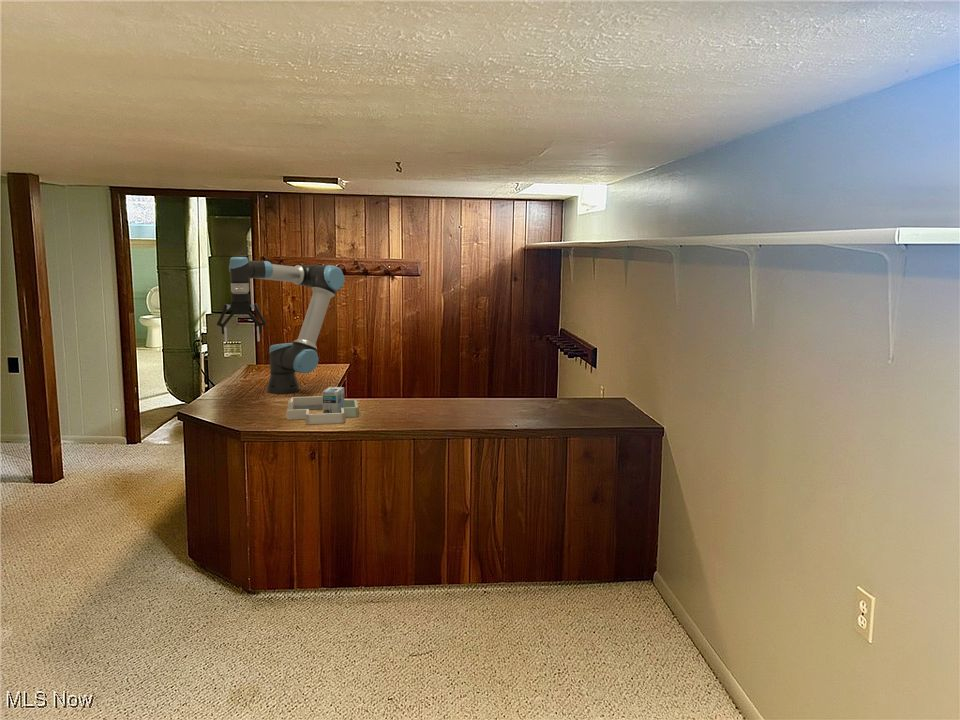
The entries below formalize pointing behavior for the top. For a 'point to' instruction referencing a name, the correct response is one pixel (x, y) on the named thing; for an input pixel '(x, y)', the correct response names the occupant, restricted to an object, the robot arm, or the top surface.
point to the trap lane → (326, 418)
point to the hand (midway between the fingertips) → (242, 341)
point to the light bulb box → (333, 400)
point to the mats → (309, 407)
